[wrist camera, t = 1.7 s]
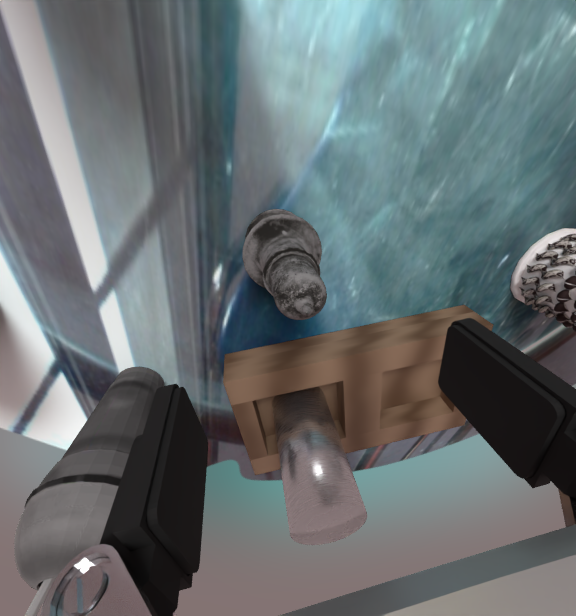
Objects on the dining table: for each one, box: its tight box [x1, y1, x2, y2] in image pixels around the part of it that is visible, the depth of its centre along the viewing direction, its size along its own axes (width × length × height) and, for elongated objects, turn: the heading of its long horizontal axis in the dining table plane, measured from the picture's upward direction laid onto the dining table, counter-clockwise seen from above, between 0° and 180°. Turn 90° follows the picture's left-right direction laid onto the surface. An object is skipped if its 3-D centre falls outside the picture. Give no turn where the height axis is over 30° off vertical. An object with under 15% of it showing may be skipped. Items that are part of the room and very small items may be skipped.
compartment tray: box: [223, 305, 493, 475], centre depth 32 cm, size 26×15×4 cm, turn 97°
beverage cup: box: [15, 367, 164, 616], centre depth 20 cm, size 7×7×20 cm
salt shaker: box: [243, 209, 327, 320], centre depth 19 cm, size 6×6×12 cm
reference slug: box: [272, 386, 367, 545], centre depth 27 cm, size 6×6×12 cm
